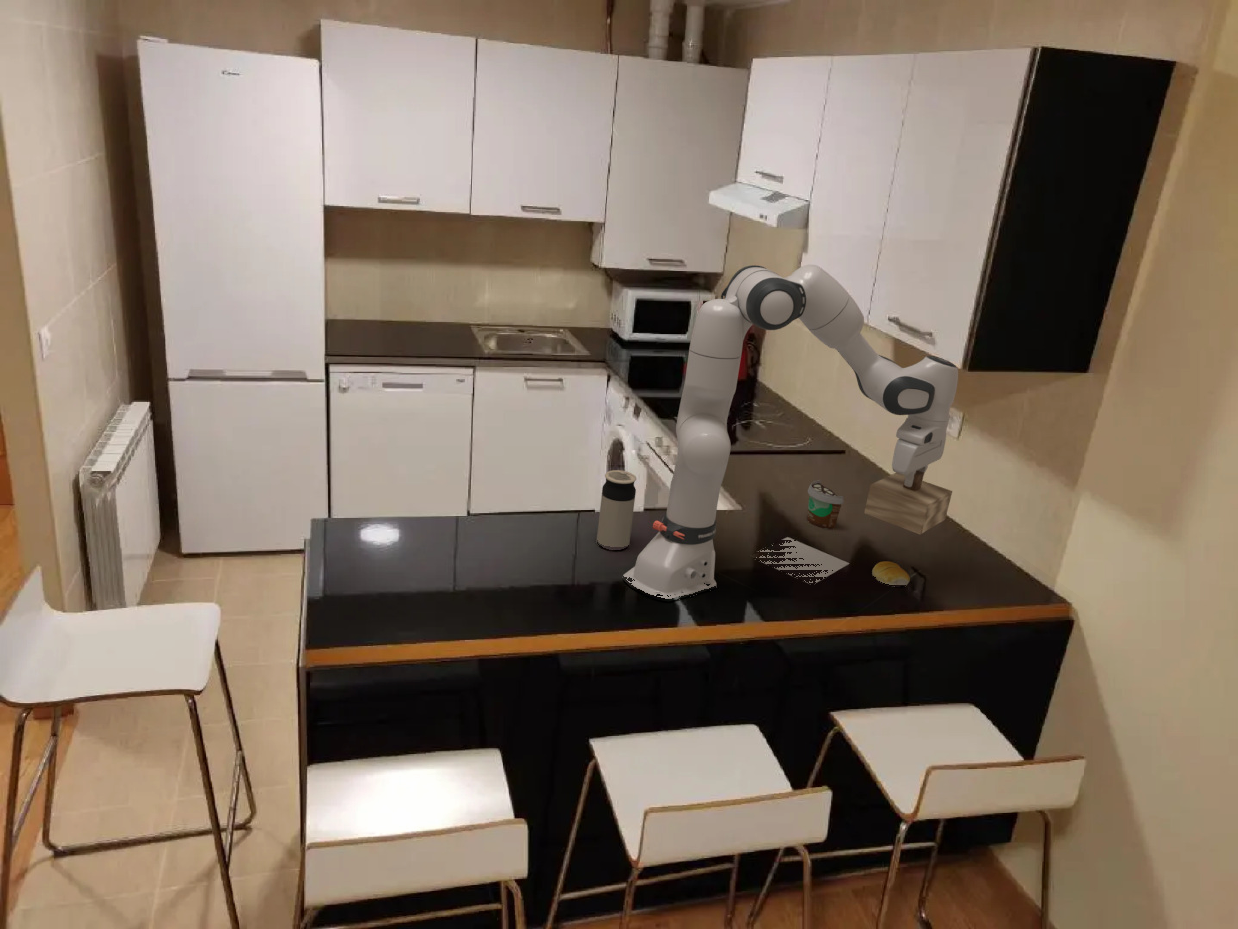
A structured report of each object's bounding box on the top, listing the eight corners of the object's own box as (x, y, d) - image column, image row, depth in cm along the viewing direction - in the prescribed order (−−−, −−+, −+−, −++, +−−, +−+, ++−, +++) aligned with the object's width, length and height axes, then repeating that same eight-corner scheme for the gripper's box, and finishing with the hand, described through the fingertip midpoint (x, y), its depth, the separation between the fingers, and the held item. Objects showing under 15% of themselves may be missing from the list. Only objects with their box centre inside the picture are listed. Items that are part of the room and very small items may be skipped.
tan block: (920, 534, 208) (931, 488, 204) (864, 513, 216) (874, 468, 212) (945, 519, 218) (956, 475, 214) (890, 499, 226) (900, 456, 222)
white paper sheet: (812, 586, 214) (812, 584, 214) (748, 557, 225) (748, 556, 225) (849, 565, 227) (849, 563, 227) (787, 538, 238) (787, 537, 238)
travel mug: (610, 554, 219) (618, 484, 212) (589, 541, 224) (597, 472, 218) (635, 547, 224) (644, 479, 217) (615, 534, 229) (623, 467, 223)
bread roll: (894, 570, 228) (898, 556, 226) (913, 588, 220) (916, 573, 218) (864, 571, 226) (867, 556, 224) (882, 589, 218) (885, 574, 216)
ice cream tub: (793, 513, 254) (800, 480, 251) (812, 512, 257) (819, 479, 253) (817, 532, 244) (824, 498, 240) (837, 531, 246) (844, 497, 242)
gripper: (932, 416, 219) (919, 470, 223) (893, 431, 204) (880, 488, 209) (957, 423, 215) (943, 478, 220) (920, 439, 200) (906, 498, 205)
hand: (912, 483), depth 214 cm, fingers closed on tan block, 3 cm apart
